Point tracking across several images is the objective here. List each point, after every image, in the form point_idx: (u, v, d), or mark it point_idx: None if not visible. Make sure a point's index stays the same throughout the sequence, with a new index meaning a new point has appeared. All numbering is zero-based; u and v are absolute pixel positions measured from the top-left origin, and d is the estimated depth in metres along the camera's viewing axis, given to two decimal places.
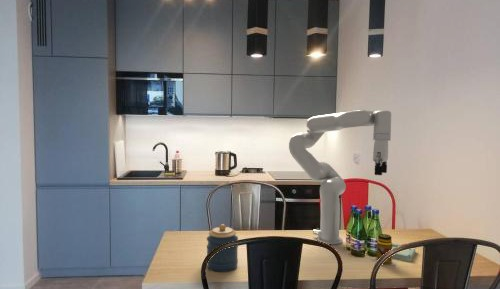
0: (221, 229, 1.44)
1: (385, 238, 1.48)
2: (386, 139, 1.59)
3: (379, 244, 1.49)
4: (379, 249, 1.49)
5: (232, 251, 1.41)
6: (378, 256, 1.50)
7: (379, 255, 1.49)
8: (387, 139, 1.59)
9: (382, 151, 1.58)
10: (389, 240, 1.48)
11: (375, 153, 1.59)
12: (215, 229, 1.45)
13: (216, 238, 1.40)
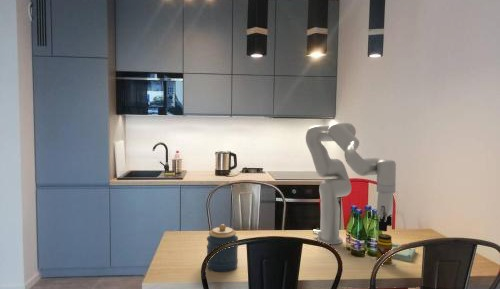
0: (221, 229, 1.44)
1: (385, 238, 1.48)
2: (391, 192, 1.46)
3: (379, 244, 1.49)
4: (379, 249, 1.49)
5: (232, 251, 1.41)
6: (378, 256, 1.50)
7: (379, 255, 1.49)
8: (392, 192, 1.46)
9: (386, 205, 1.45)
10: (389, 240, 1.48)
11: (378, 207, 1.47)
12: (215, 229, 1.45)
13: (216, 238, 1.40)
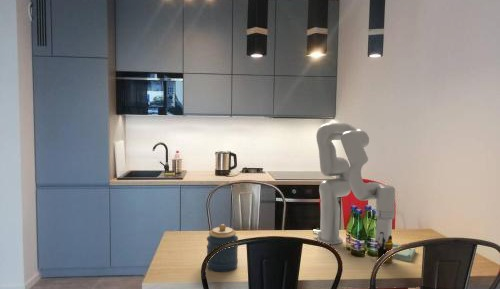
0: (221, 229, 1.44)
1: None
2: (390, 218, 1.47)
3: None
4: None
5: (232, 251, 1.41)
6: None
7: None
8: (391, 218, 1.47)
9: (385, 231, 1.46)
10: (390, 240, 1.48)
11: (377, 233, 1.48)
12: (215, 229, 1.45)
13: (216, 238, 1.40)
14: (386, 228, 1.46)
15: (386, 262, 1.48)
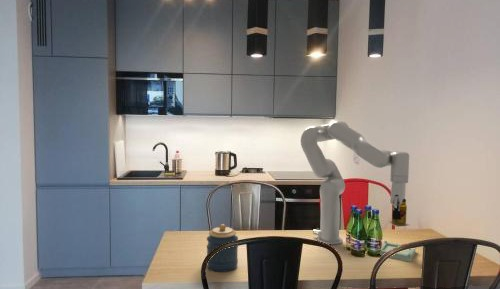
0: (221, 229, 1.44)
1: None
2: (404, 182, 1.56)
3: None
4: None
5: (232, 251, 1.41)
6: None
7: None
8: (405, 182, 1.56)
9: (400, 194, 1.55)
10: (404, 202, 1.58)
11: (392, 196, 1.57)
12: (215, 229, 1.45)
13: (216, 238, 1.40)
14: (401, 191, 1.55)
15: (400, 223, 1.58)
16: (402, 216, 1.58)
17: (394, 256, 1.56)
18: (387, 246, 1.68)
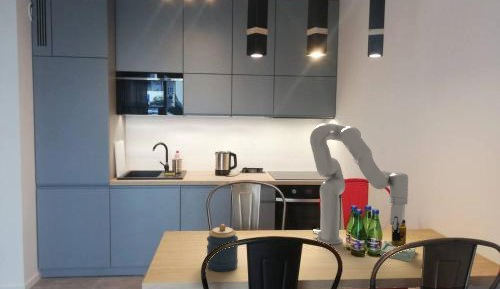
0: (221, 229, 1.44)
1: None
2: (403, 203, 1.57)
3: None
4: None
5: (232, 251, 1.41)
6: None
7: None
8: (404, 203, 1.57)
9: (399, 216, 1.56)
10: (403, 224, 1.58)
11: (392, 217, 1.58)
12: (215, 229, 1.45)
13: (216, 238, 1.40)
14: (400, 212, 1.56)
15: (400, 245, 1.58)
16: (402, 237, 1.58)
17: (394, 256, 1.56)
18: (387, 246, 1.68)
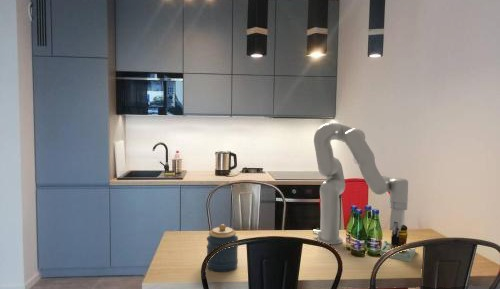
0: (221, 229, 1.44)
1: (401, 229, 1.57)
2: (403, 209, 1.57)
3: None
4: None
5: (232, 251, 1.41)
6: None
7: None
8: (404, 209, 1.57)
9: (399, 221, 1.56)
10: (405, 230, 1.57)
11: (391, 222, 1.58)
12: (215, 229, 1.45)
13: (216, 238, 1.40)
14: (400, 218, 1.56)
15: None
16: (402, 244, 1.58)
17: (394, 256, 1.56)
18: None
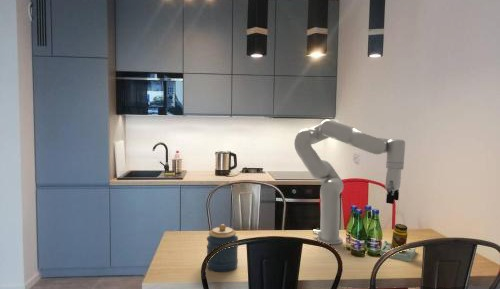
0: (221, 229, 1.44)
1: (401, 229, 1.57)
2: (399, 168, 1.60)
3: (395, 233, 1.59)
4: (395, 238, 1.59)
5: (232, 251, 1.41)
6: (393, 244, 1.60)
7: (394, 243, 1.60)
8: (400, 168, 1.60)
9: (394, 180, 1.59)
10: (405, 230, 1.57)
11: (387, 181, 1.61)
12: (215, 229, 1.45)
13: (216, 238, 1.40)
14: (395, 177, 1.59)
15: None
16: (402, 244, 1.58)
17: (394, 256, 1.56)
18: None
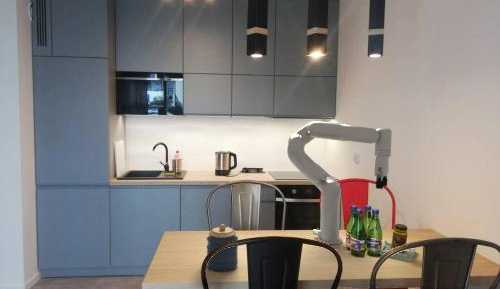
0: (221, 229, 1.44)
1: (401, 229, 1.57)
2: (387, 155, 1.70)
3: (395, 233, 1.59)
4: (395, 238, 1.59)
5: (232, 251, 1.41)
6: (393, 244, 1.60)
7: (394, 243, 1.60)
8: (387, 155, 1.70)
9: (383, 166, 1.69)
10: (405, 230, 1.57)
11: (376, 168, 1.71)
12: (215, 229, 1.45)
13: (216, 238, 1.40)
14: (383, 164, 1.69)
15: None
16: (402, 244, 1.58)
17: (394, 256, 1.56)
18: None
